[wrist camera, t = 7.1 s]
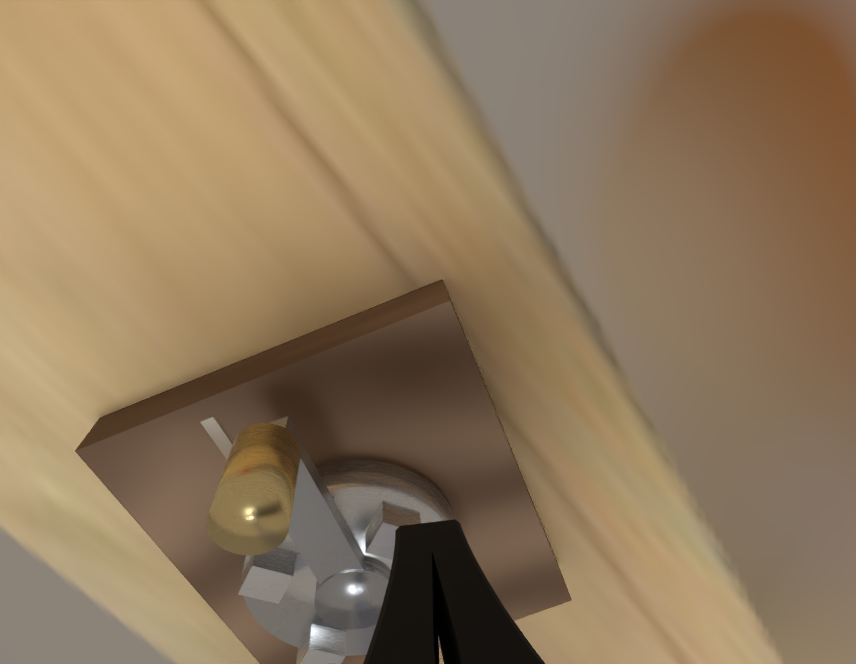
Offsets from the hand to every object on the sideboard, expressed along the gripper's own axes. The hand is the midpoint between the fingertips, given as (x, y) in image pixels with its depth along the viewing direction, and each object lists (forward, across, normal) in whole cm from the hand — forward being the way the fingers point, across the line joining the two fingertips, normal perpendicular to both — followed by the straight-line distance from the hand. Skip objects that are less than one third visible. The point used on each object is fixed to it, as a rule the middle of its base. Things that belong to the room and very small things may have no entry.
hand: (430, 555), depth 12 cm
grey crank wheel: (+8, +3, +5) cm, 10 cm away
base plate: (+10, +3, +7) cm, 12 cm away
